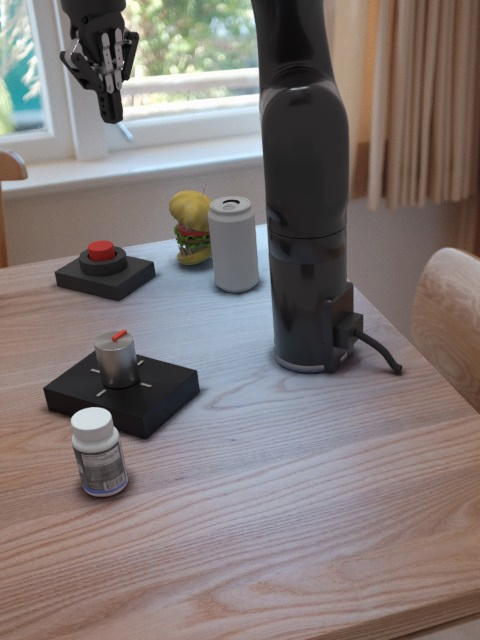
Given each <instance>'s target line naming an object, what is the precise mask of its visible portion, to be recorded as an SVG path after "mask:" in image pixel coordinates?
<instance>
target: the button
mask: <svg viewBox="0 0 480 640" xmlns="http://www.w3.org/2000/svg"><path fill="white" fill-rule="evenodd" d="M114 246H115V245H114V243H113V242H112V241H111V240H103V239H102V240H95V241H92V242H90V243H89V244H88V245H87V249H88V252H89V257H90V259H91V260H93V261H106V260H109V259H112V258H114V257H115V251H114Z"/></svg>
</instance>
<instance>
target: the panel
mask: <svg viewBox="0 0 480 640" xmlns="http://www.w3.org/2000/svg"><path fill="white" fill-rule="evenodd" d="M136 357H137V362H138V368H139V374H140V378H139V380H138V381H137V382H136V383H135V384H133V385H131V386H129V387H125V388H110V387H107V386H105V385H104V384H103V383H102V380H101V375H100V371H99V366H98V361H97V356H96V352H95V350H93V351H92V352H91V353H89V354H88V355H86V356H85V357H84V358H82V359H81V360H80V361H78V362H77V363H75V364H74V365H72V366H71V367H69V368H68V369H67V370H66V371H63V373H61V374H60V375H59V376H57V377H56V378H54V379H53V380H51V381H50V382H49V383H48V384H46V385H45V386H43V387H42V391H43V394H44V398H45V402H46V405H47V406H46V407H47V410H48V411H52V412H55V413H58V414H62V415H66V416H68V417H71V418H72V416H73V415H74V414H75V413H77V412H78V411H80V410H83V409H86V408H91V407H98V408H103V409H106V410H107V411H109V412H110V414H111V416H112V421H113V426H114V427H115V428H116V429H117V431H118V432H119V433H120V432H121V433H124V434H126V435H130V436H134V437H137V438H140V439H143V440H147V439H148V438H150V437H151V436H152V435H153V434H154V433H155V432H156V431H157V430H159V429H160V428H161V427H162V426H163V425H164V424H165V423H166V422H167V421H169V420H170V418H172V417H173V416H174V415H176V414H177V413H178V412H179V411H180V410H181V409H182V408H184V407H185V406H186V405H187V404H188V403H189V402H190V401H191V400H193V399H194V398H195V397H196V396H197V395H198V394H199V393H200V392H201V390H200V389H201V388H200V380H199V372H198V369H194V368H190V367H186V366H182V365H179V364H175V363H172V362H167V361H164V360H160V359H157V358H153V357H149V356H145V355H141V354H138V353H136Z"/></svg>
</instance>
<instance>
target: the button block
mask: <svg viewBox="0 0 480 640" xmlns="http://www.w3.org/2000/svg"><path fill="white" fill-rule="evenodd" d="M114 251H115V257H114V258H112V259H109V260H106V261H93V260H91V259H90V257H89V252H88V248H87V249H84V250H83V251H82V252H80V253H79V255H78V257H77V258H75V259H73V260H71V261H70V262H68V263H67V264H65V265H63V266H61V267H60V268H58V269H57V270H55V271H54V277H55V281H56V286H57V287H60V288H64V289H68V290H74V291H78V292H81V293H86V294H90V295H93V296H98V297H101V298H106V299H109V300H114V301H118V302H119V301H120V300H122V299H124V298H125V297H126V296H128V295H130V293H132V292H134V291H136V290H137V289H138V288H140V287H141V286H142V285H144V284H145V283H146V282H149V281H150V280H151V279H153V278H154V277H156V275H157V274H156V266H155V262H154V261H153V260H148V259H145V258H139V257H136V256H130V255H127V252H126V250H125V249H123V247H121V246H116V245H114Z"/></svg>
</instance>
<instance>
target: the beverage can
mask: <svg viewBox="0 0 480 640" xmlns="http://www.w3.org/2000/svg"><path fill="white" fill-rule="evenodd" d="M208 222H209V231H210V241H211V250H212V256H211V260H212V268H213V277H214V283H215V285H216V286H217V287H219V288H221V289H222V291H224V292H228V293H234V294H235V293H245V292H247V291H249V290H251V289H253V288H254V287H255V286H256V285H257V284H258V283H259V281H260V271H259V270H260V269H259V257H258V244H257V230H256V229H257V228H256V214H255V210H254V209H253V207H252V202H251V201H250V199H249V198H246V197H243V196H238V195H229V196H228V195H227V196H221V197H218V198H215V199H212V202H211V203H210V210H209V212H208Z"/></svg>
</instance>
